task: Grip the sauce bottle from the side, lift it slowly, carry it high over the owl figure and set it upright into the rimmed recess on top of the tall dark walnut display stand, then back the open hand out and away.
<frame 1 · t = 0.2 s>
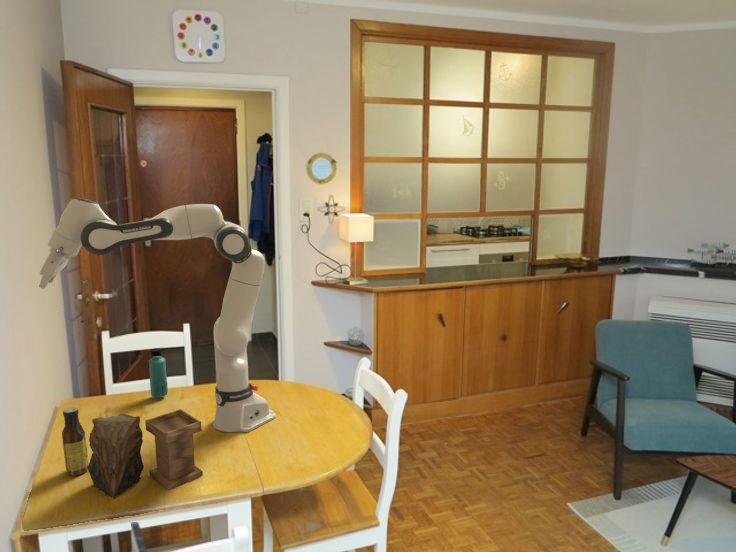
hand: (45, 284, 186), 54 cm above the table, tool tilted 30°, fingers open, 8 cm apart
display stand: (176, 475, 178), on the table
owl: (115, 486, 172), on the table
beverage bottle: (159, 398, 234), on the table
sauce bottle: (77, 471, 179), on the table
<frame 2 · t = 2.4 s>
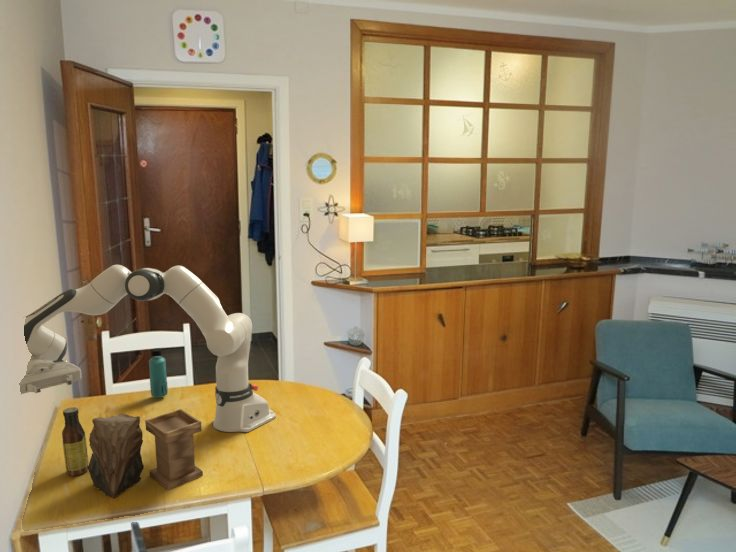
hand: (54, 386, 184), 23 cm above the table, tool horizontal, fingers open, 8 cm apart
nothing on the table moved.
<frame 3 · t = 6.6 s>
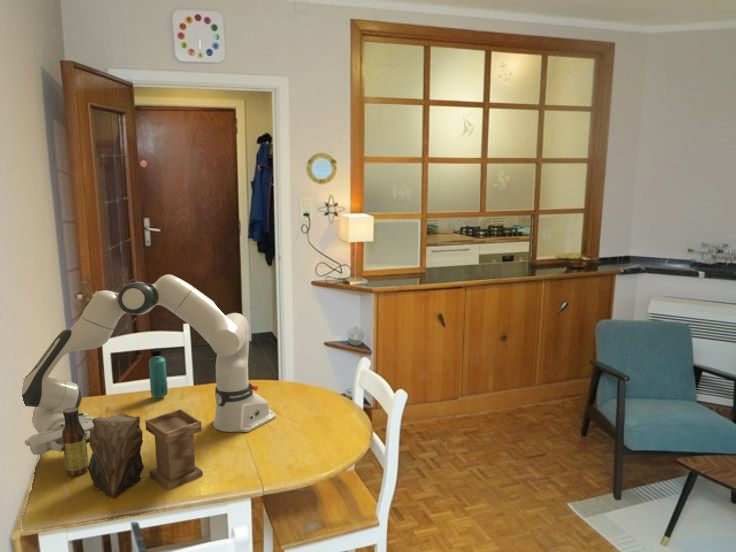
hand: (75, 444, 177), 9 cm above the table, tool horizontal, fingers closed on sauce bottle, 6 cm apart
sauce bottle: (77, 471, 179), on the table, touching gripper
everything else where it was.
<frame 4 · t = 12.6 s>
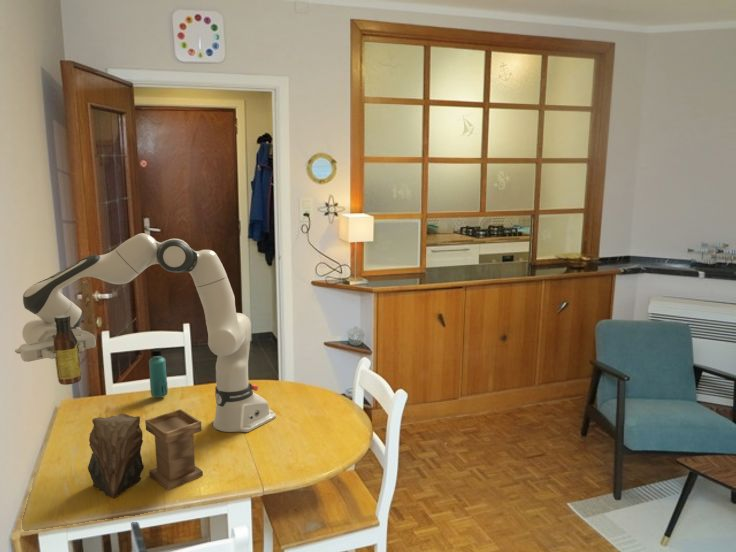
hand: (68, 352, 171), 38 cm above the table, tool horizontal, fingers closed on sauce bottle, 6 cm apart
sauce bottle: (69, 382, 174), point 28 cm above the table, touching gripper
everything else where it was.
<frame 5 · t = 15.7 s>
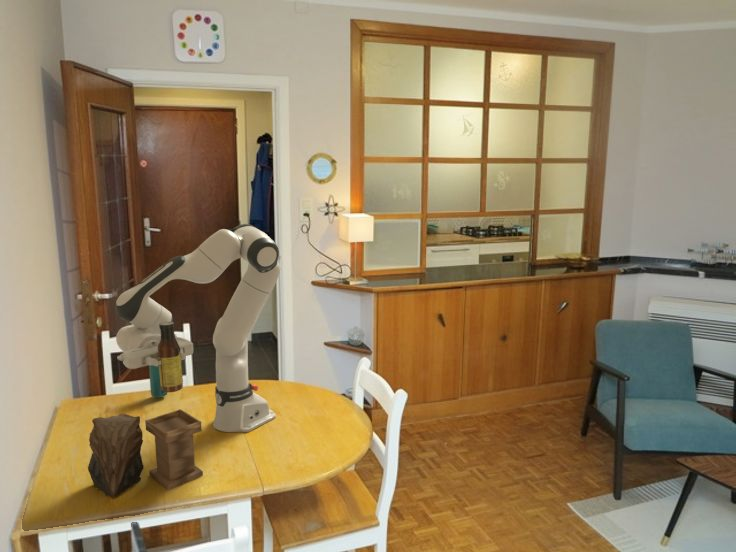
hand: (171, 360, 170), 37 cm above the table, tool horizontal, fingers closed on sauce bottle, 6 cm apart
sauce bottle: (171, 389, 172), point 27 cm above the table, touching gripper
everything else where it was.
when the fingers open (26 cm above the table, at t = 18.4 s): sauce bottle drops 1 cm, resting on display stand.
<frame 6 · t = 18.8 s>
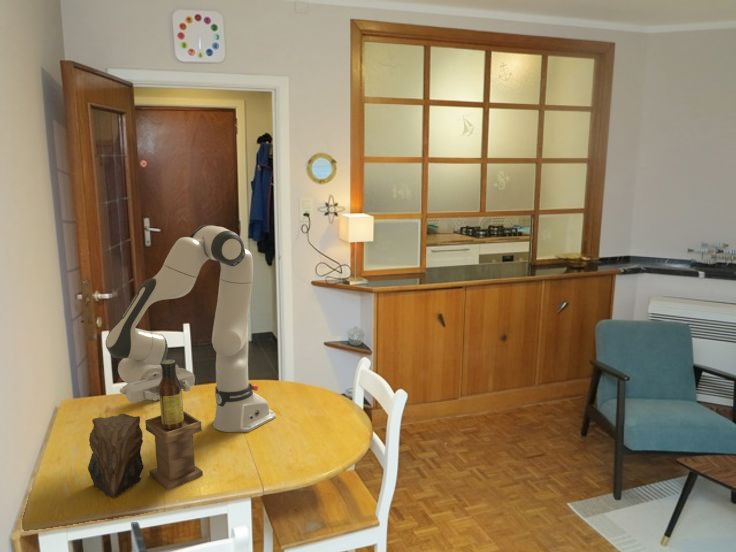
hand: (173, 393, 172), 26 cm above the table, tool horizontal, fingers open, 8 cm apart
sauce bottle: (172, 426, 174), point 16 cm above the table, touching display stand
everything else where it was.
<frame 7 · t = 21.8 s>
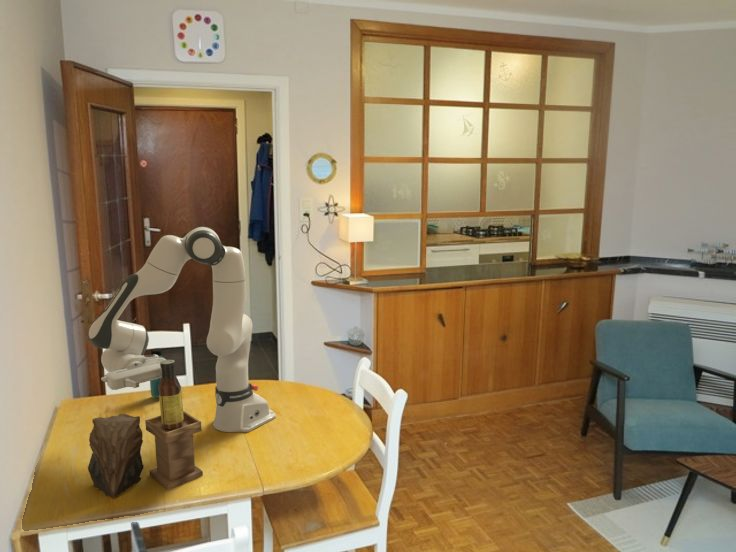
hand: (152, 381, 181), 27 cm above the table, tool horizontal, fingers open, 8 cm apart
nothing on the table moved.
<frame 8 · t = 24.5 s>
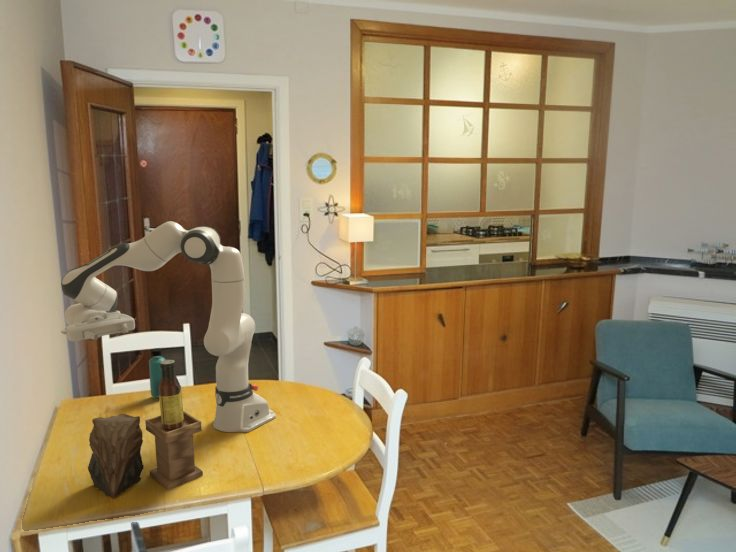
hand: (111, 333, 183), 40 cm above the table, tool horizontal, fingers open, 8 cm apart
nothing on the table moved.
at the end: sauce bottle 0.3 cm off-centre on the display stand, point 15.8 cm above the display stand's base; sauce bottle tilted 0°; the gripper is holding nothing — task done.
